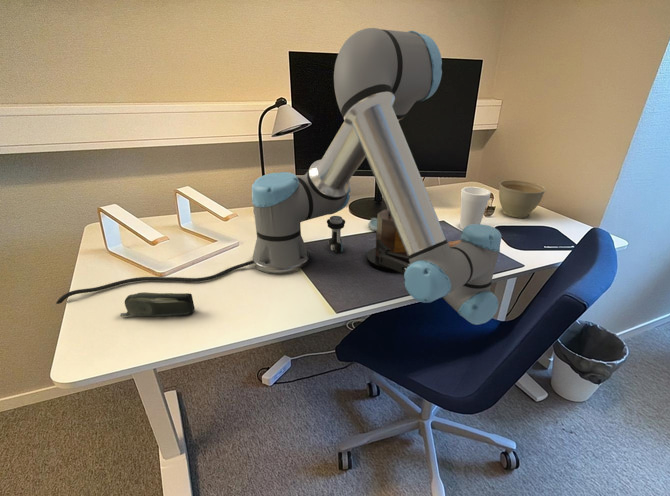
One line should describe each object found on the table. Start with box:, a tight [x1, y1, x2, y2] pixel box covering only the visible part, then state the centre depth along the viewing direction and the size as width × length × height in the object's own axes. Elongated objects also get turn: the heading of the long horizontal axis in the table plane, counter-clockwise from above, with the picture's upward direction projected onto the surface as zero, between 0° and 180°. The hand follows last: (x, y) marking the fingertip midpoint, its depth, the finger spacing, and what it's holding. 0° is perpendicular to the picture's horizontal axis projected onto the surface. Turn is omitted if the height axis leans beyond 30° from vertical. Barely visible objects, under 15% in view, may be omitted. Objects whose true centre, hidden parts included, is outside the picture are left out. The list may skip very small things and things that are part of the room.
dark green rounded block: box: [119, 291, 196, 317], centre depth 86 cm, size 5×3×15 cm
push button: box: [326, 215, 346, 254], centre depth 116 cm, size 7×5×10 cm
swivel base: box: [366, 246, 402, 274], centre depth 113 cm, size 15×15×2 cm
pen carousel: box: [375, 208, 407, 258], centre depth 109 cm, size 10×10×14 cm
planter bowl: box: [498, 179, 546, 219], centre depth 149 cm, size 16×16×11 cm
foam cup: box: [459, 186, 492, 230], centre depth 134 cm, size 10×9×13 cm
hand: (400, 241), depth 107 cm, fingers open, 13 cm apart
